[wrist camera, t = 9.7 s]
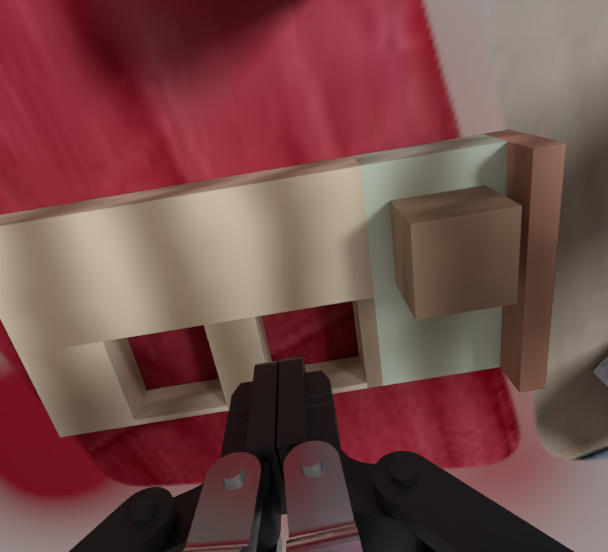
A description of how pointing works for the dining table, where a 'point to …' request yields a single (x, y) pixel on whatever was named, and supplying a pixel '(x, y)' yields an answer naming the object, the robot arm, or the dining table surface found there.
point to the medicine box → (602, 371)
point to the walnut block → (456, 251)
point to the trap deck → (267, 278)
